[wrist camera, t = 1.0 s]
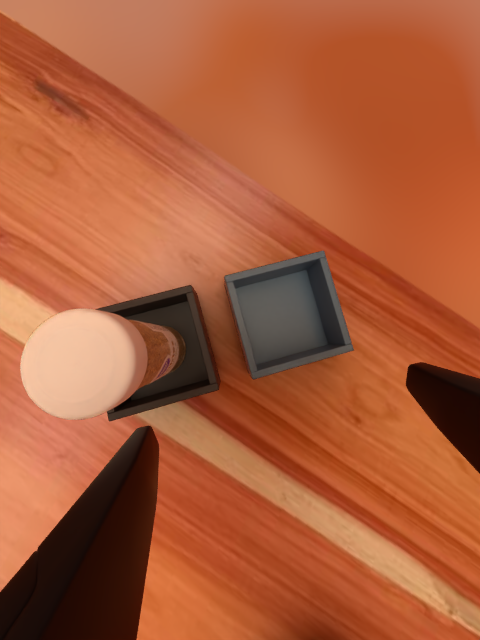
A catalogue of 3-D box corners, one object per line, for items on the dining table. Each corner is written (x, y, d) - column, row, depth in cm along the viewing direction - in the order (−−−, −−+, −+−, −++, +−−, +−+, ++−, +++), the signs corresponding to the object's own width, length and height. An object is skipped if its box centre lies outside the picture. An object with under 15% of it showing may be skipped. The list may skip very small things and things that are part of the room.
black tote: (220, 381, 24) (219, 389, 20) (128, 408, 23) (108, 421, 19) (196, 293, 24) (191, 284, 20) (106, 316, 23) (82, 312, 20)
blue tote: (334, 348, 24) (354, 350, 21) (248, 373, 24) (252, 379, 20) (309, 263, 25) (324, 250, 21) (224, 285, 24) (224, 275, 20)
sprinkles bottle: (178, 379, 23) (112, 437, 10) (131, 366, 23) (-5, 406, 9) (192, 332, 23) (148, 324, 10) (146, 319, 23) (36, 292, 10)
